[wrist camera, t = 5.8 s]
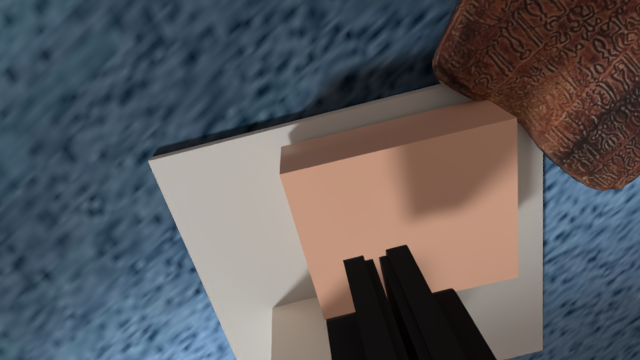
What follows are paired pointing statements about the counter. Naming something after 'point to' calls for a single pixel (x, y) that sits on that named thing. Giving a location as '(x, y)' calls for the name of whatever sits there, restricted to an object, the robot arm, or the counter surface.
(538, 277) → the grey mat
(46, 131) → the counter surface
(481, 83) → the wooden tablet
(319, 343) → the cream block
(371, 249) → the salmon pink block
